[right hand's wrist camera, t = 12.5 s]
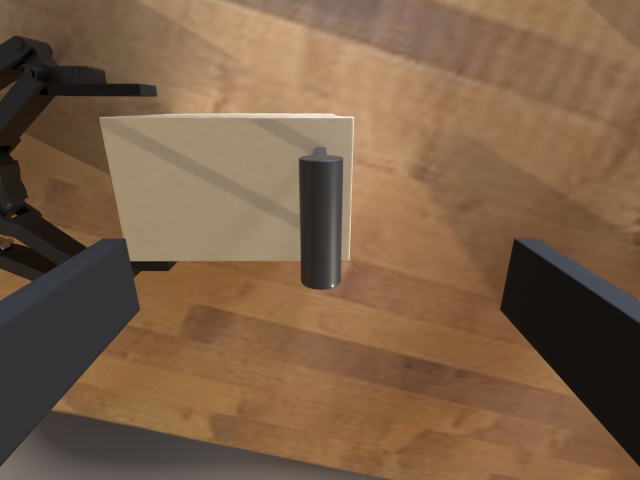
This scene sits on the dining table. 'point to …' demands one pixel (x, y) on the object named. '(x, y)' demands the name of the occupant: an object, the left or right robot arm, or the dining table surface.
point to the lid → (235, 189)
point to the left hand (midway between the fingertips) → (163, 182)
